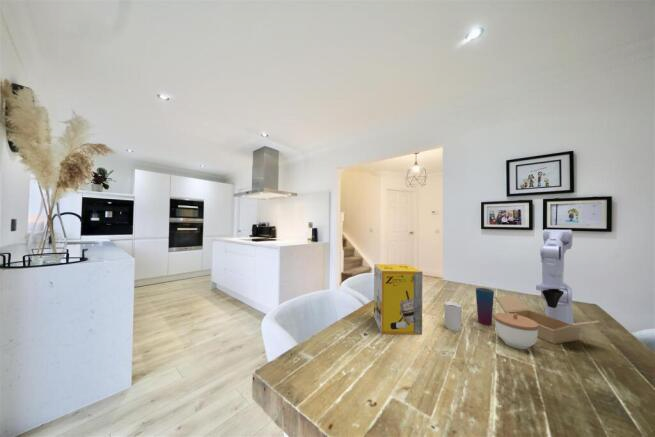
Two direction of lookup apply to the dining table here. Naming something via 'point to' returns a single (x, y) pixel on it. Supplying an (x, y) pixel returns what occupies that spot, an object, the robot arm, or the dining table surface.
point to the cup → (484, 305)
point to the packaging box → (398, 299)
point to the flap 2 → (576, 325)
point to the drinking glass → (452, 315)
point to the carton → (550, 327)
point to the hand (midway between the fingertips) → (552, 307)
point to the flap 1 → (510, 303)
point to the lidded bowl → (516, 330)
